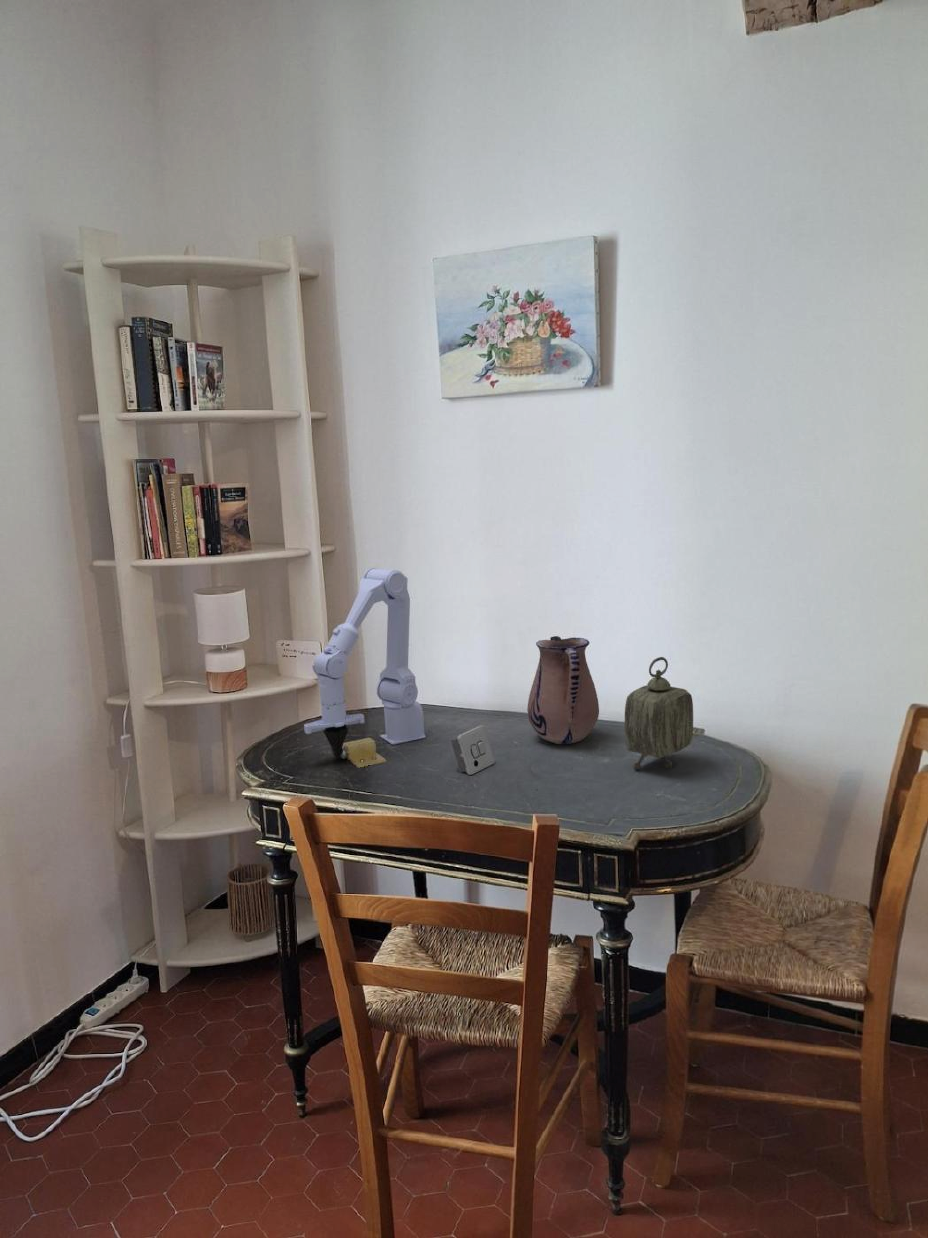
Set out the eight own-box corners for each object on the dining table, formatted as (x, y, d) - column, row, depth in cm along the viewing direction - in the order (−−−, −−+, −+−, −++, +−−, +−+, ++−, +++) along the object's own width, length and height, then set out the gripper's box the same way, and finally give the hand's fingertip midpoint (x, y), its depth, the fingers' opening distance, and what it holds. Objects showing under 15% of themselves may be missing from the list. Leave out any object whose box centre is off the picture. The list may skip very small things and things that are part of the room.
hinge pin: (373, 749, 226) (372, 739, 226) (377, 752, 224) (376, 742, 223) (339, 756, 222) (339, 746, 222) (343, 759, 220) (342, 749, 219)
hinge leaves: (361, 744, 232) (360, 731, 231) (386, 761, 218) (385, 748, 217) (335, 749, 229) (333, 736, 228) (358, 768, 215) (357, 754, 214)
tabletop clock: (661, 753, 214) (660, 649, 209) (696, 761, 207) (695, 654, 202) (625, 771, 204) (623, 662, 199) (659, 780, 197) (658, 667, 193)
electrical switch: (470, 776, 206) (465, 736, 204) (453, 774, 209) (447, 735, 208) (495, 764, 213) (490, 725, 212) (478, 762, 216) (473, 724, 215)
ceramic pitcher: (580, 724, 238) (577, 630, 234) (619, 748, 219) (616, 646, 214) (518, 734, 233) (514, 638, 228) (551, 759, 213) (547, 655, 209)
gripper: (309, 711, 211) (313, 767, 214) (367, 700, 218) (371, 754, 220) (299, 704, 217) (304, 759, 220) (356, 694, 224) (360, 747, 226)
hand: (337, 756), depth 220 cm, fingers closed
